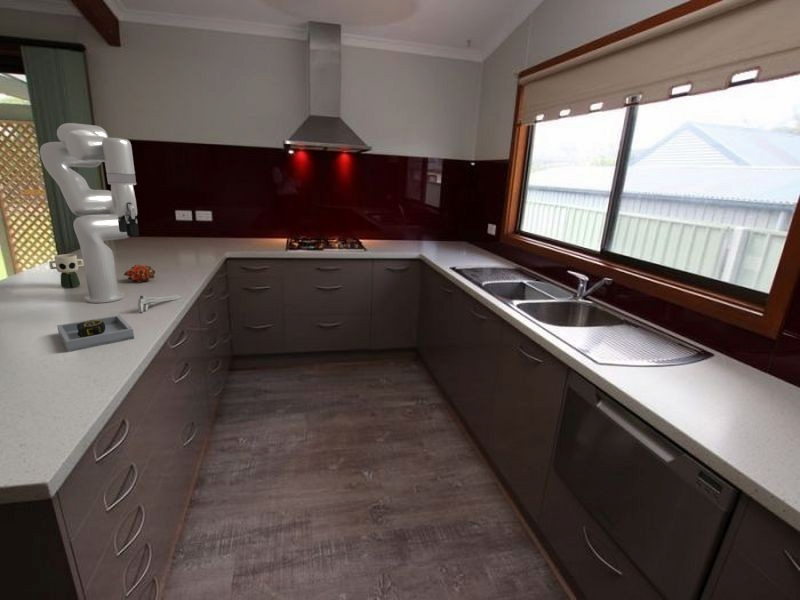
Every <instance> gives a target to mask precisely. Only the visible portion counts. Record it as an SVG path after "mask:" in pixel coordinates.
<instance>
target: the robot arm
mask: <svg viewBox="0 0 800 600" xmlns="http://www.w3.org/2000/svg"><path fill="white" fill-rule="evenodd" d="M56 136H57V138H58V140H59V141H49V142H46V143H43V144H42V145H41V146H40V148H39V153H40V158H41V159H40V160H41V162H42V164H43V166H44V168H45V171H47V172H48V174H49V175H50V176H51V178H52V179H53V180H54V181H55V183H56V184H57V185H58V187H59V189H60V191H61V193H62V195H63V197H64V199H65V202H66V204H67V206H68V208H69V209H70V210H69V211H71V212H72V213H73V214H74V215H76V216H77V217H76V218H75V219H74V221H73V229H74V232H75V235H76V238H77V240H78V241H77V242H78V244H79V247H80V252H81V257H82V258H81V259H83V263H84V266H83V268H84V274H85V279H86V285H87V290H88V294H87V295H85V296H84V301H85V302H86V303H93V304H97V303H98V304H99V303H100V304H102V303H103V304H104V303H109V302H110V303H111V302H115V301H118V300H119V301H120V300H122V299H123V298H124V297H125V293H124V292H123V291H120V289H119V283H118V276H117V270H116V263H115V257H114V252H113V250H112V249H111V248H110V247H109V246H108V245H107V244H105V241H113V240H124V239H127V238H129V237H139V236H140V231H139V223H138V219H137V216H138V207H137V199H136V194H135V189H134V186H136V185H137V181H136V179H137V178H136V171H135V165H134V156H133V148H132V144H131V141H130V140H129V139H126V138H119V137H109V135H108V132H107V131H106V130H105V129H104V128H103V127H101V126H99V125H96V124H95V125H93V124H84V123H77V122H76V123H75V122H67V123H63V124H61V125H59V127H58V128H57V130H56ZM102 163H104V166H105V172H106V179H107V184H108V185H110V190H108V189H107V190H106V189H92V188H90V186H89V184H88V183H87V180H86V179H85V178H84V177H83V176H82V175H81V174H80V173H78V172H77V171H76V170H73V169H72V168H73V167H74V168H97V167H99V166H100V165H101V164H102ZM71 167H72V168H71Z"/></svg>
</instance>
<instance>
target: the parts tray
mask: <svg viewBox="0 0 800 600" xmlns="http://www.w3.org/2000/svg"><path fill="white" fill-rule="evenodd" d="M89 320H90V319H88V320H82V321H75V322H69V323H64V324H58V325H56V326H57V331H58V335H59V338H60V339H61V341H62V343H63V345H64V347H65V349H66V351H67V352H68V353H71V352H73V351H79V350H84V349H89V348H94V346H95V347H100V346H105V345H108V343H109V344H114V343H118V342H123V341H128V339H129V340H133V339H135V336H134V329H133V327H132V326H130V324H129V323H128V322H127V321H126V320H125V319H124V318H123V317H122V316H121V315H120V314H118V315H111V316H105V317H100V318H93V319H91V320H101V321H103V322H104V324H105V331H104V332H103V333H101V334H98V335H94V336H86V337H83V338H82V337H80V336H78V334H77V333H78V329H77V324H79V323H82V322H86V321H89ZM104 344H105V345H104ZM99 345H100V346H99Z"/></svg>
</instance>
